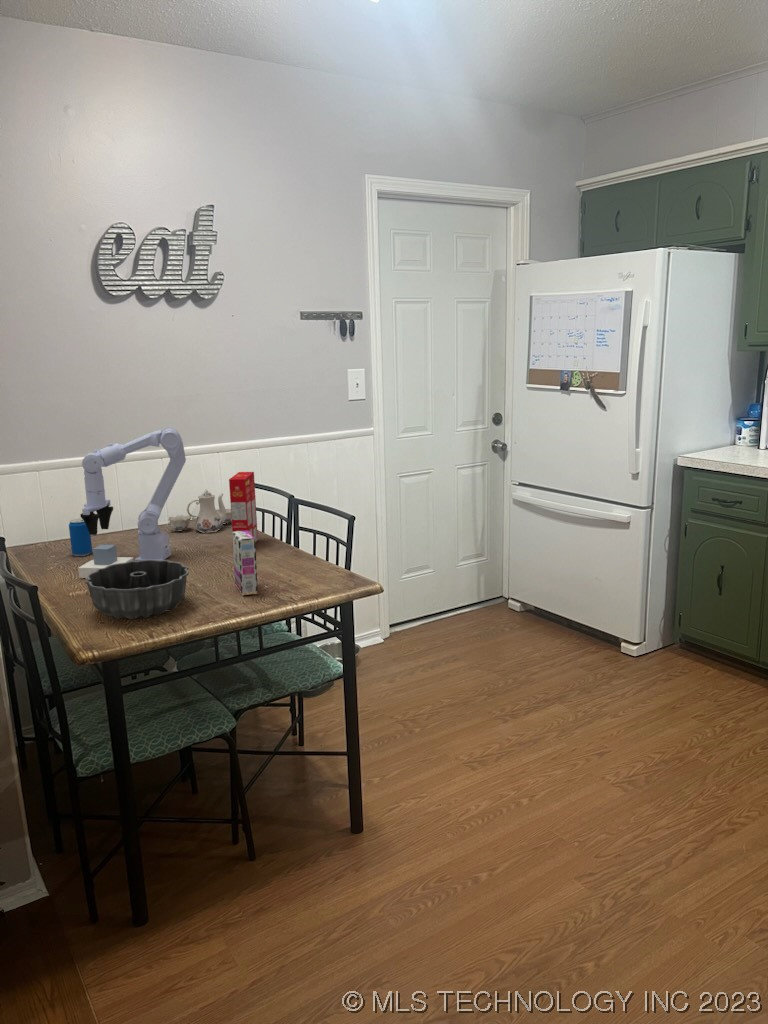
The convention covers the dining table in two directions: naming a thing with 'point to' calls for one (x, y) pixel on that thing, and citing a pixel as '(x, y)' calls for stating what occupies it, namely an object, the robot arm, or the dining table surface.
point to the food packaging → (243, 503)
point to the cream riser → (98, 566)
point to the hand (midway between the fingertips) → (99, 531)
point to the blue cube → (104, 554)
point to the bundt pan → (138, 588)
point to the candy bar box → (245, 561)
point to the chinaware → (204, 515)
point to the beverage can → (80, 538)
